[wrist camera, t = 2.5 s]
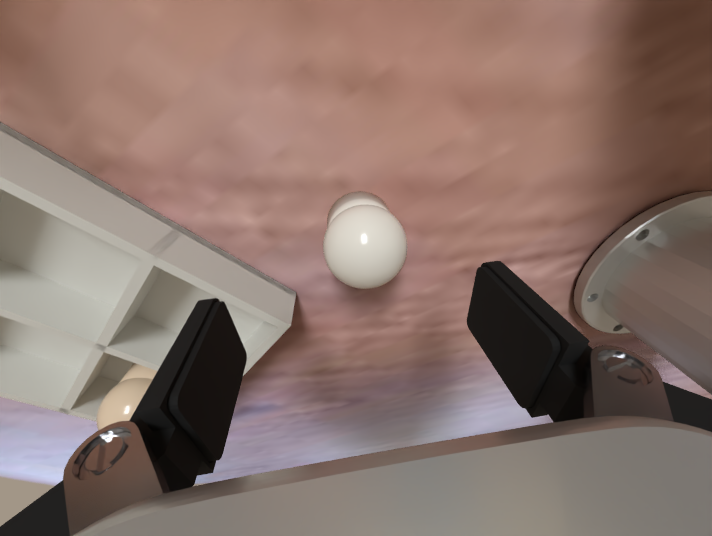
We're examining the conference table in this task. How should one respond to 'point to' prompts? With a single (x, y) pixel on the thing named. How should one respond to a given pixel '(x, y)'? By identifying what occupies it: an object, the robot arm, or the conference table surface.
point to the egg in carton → (125, 396)
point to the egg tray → (104, 283)
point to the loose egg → (363, 241)
